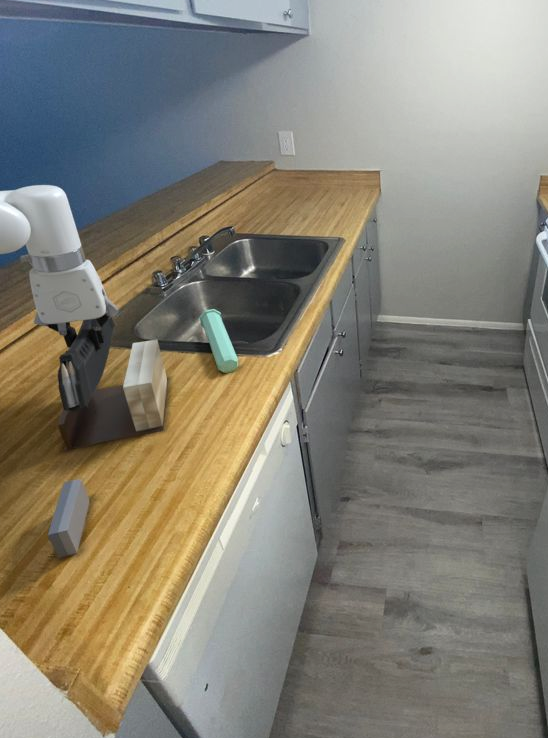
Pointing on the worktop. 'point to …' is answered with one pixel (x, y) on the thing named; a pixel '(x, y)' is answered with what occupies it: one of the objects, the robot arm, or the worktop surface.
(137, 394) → the book rack
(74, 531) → the blue-grey rectangular block
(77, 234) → the robot arm
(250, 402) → the worktop surface
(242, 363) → the worktop surface
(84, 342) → the magazine
